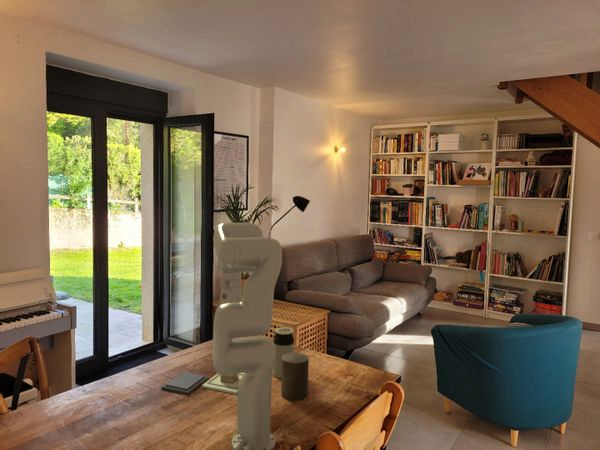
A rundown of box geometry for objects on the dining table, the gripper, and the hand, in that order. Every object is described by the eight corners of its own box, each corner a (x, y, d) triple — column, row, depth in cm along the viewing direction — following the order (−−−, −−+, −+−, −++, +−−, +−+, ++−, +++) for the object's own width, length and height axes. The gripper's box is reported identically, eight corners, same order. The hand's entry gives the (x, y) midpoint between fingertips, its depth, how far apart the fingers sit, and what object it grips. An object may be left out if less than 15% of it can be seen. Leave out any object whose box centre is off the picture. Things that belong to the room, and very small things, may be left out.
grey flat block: (187, 394, 163) (187, 390, 163) (161, 389, 167) (161, 385, 167) (208, 379, 176) (208, 375, 176) (183, 374, 180) (183, 370, 180)
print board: (236, 394, 164) (236, 391, 164) (202, 387, 169) (202, 384, 169) (255, 376, 180) (255, 374, 179) (223, 370, 184) (223, 368, 184)
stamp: (232, 383, 171) (232, 362, 170) (220, 381, 173) (220, 360, 172) (238, 378, 176) (238, 358, 175) (226, 376, 177) (227, 356, 177)
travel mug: (297, 375, 182) (298, 330, 180) (281, 380, 177) (282, 335, 175) (283, 368, 188) (285, 325, 186) (268, 374, 182) (269, 329, 181)
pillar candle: (305, 402, 160) (306, 360, 159) (277, 398, 162) (278, 357, 160) (310, 390, 169) (311, 350, 168) (284, 387, 171) (285, 347, 170)
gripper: (228, 288, 161) (228, 336, 162) (250, 280, 178) (249, 323, 179) (209, 286, 164) (209, 334, 165) (233, 278, 180) (232, 321, 181)
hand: (230, 328), depth 172 cm, fingers open, 9 cm apart
